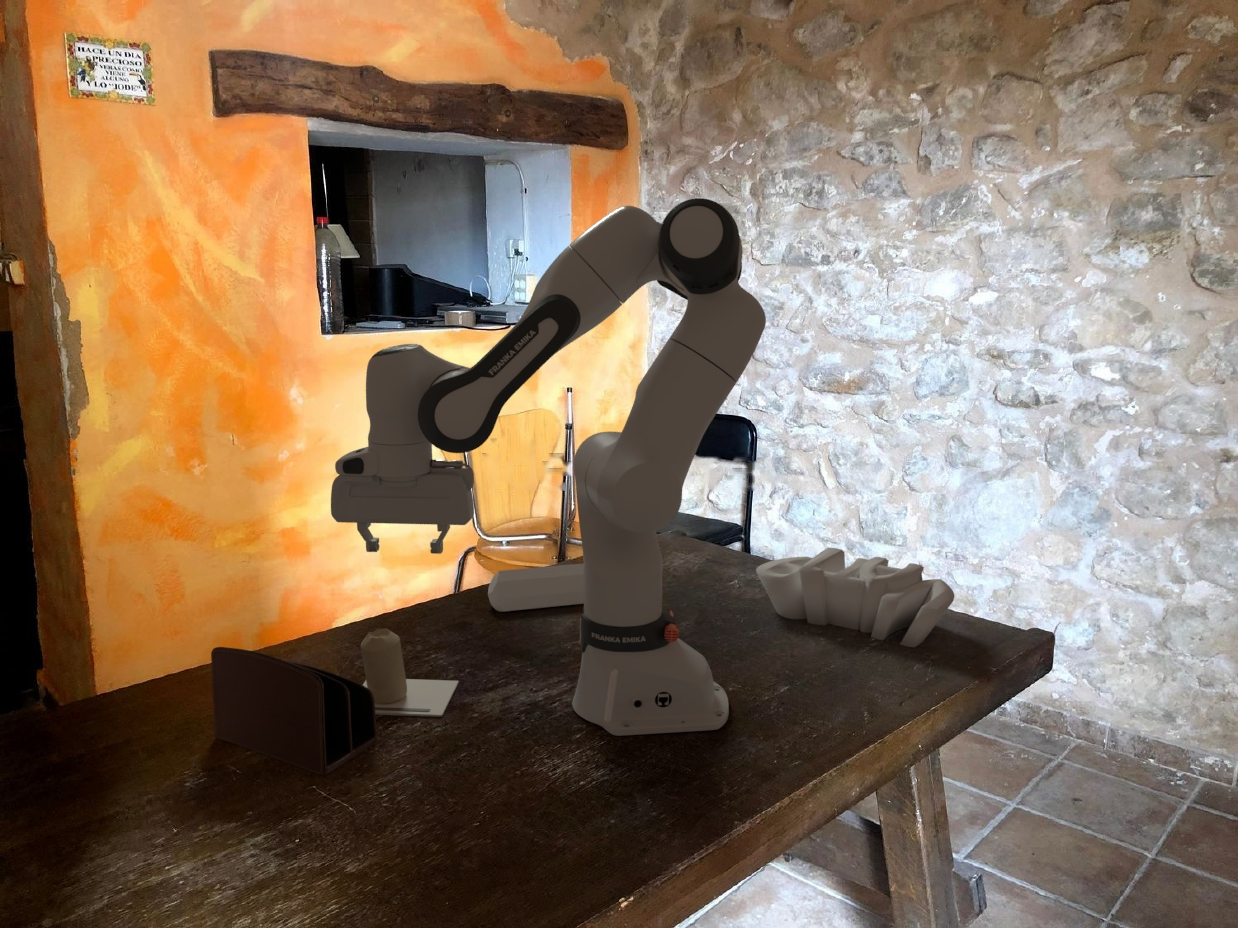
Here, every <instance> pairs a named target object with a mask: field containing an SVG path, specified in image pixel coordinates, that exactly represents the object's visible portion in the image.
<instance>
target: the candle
mask: <svg viewBox="0 0 1238 928" xmlns="http://www.w3.org/2000/svg"><path fill="white" fill-rule="evenodd" d="M360 651H361V657H362V662H363V669H364V675H365V681H366V682H367V688H368V689H369V690H371V692H372V693H373V696H374V700H375V703H378V704H387V703H392V702H395V701H398V700H400V699H401V698H403V697H404V696H405V695H406V693H407V684H406V679H407V678H406V671H405V665H404V659H403V651H402V644H401V639H400V636H399V635H398V634H396V633H395V632H393V631H391V630H389V629H388V628H377V629H375V630H374V631H371V632H368V633H367V634H366V636H365V637H364V639H363V640H362V641H361V643H360Z"/></svg>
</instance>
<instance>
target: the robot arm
mask: <svg viewBox="0 0 1238 928" xmlns="http://www.w3.org/2000/svg"><path fill="white" fill-rule="evenodd" d="M741 239H742V238H741V236H740V231H739V228H738V224H737V222H736V220H735V218H734V217H733V215H732V214H731V213H730V211H728V210H727V209H726V208H725V207H724V206H723V205H722V204H720V203H718V202H717V201H714V200H711V199H709V198H701V197H697V198H689V199H686V200H684V201H681V202H680V203H678V204H676V205H674V207H672V208H671V209H670V210H669V212H668V213H666V215H665V217H664V219H663V221H662V222H659V221H657V220H656V219H655V218H654V216H652V215H651V214H650V213H648V212H647V211H645V210H644V209H642V208H640V207H637V206H634V205H624V206H620V207H618V208H616V209H614V210H613V211H611V212H610V213H608V214H606V215H605V216H603V217H602V218H600V219H599V220H598V221H595V223H594V224H592V225H591V226H589V227H588V228H587V229H586V230H585V231H583V232H582V233H581V234H580V235H579V236H577V237H576V238H575V239H574V240H573V241H571V243H569V245H567V247H566V248H564V249H563V250H562V252H560V253H559V254H558V255H557V257H555V259H554V260H553V261H552V262H551V264H550V265H549V266H548V268H547V269H545V271H544V272H543V274H542V276H541V277H540V279H539V280H538V282H537V284H536V285H535V287H534V290H533V292H532V296H531V297H530V299H529V302H528V304H527V306H526V309H525V310H524V312H523V313H522V315H521V317H520V318H519V319H518V321H517V322H516V323H515V324H514V326H513V327H511V328H510V330H509V331H508V332H507V333H506V334H505V335H504V336H502V338H501V339H500V340H499V341H498V342H497V343H496V344H495V345H493V346H492V348H490V349H489V350H488V351H487V353H486V354H484V355H483V356H482V357H481V358H480V359H479V360H478V361H477V362H476V363H475V364H474V365H472V366H471V367H467V366H464V365H461V364H457V363H453V362H451V361H449V360H446V359H443V358H442V357H440V356H438V355H435V354H434V353H432V352H430V351H429V350H428V349H426V348H425V347H424V346H423V345H421V344H418V343H405V344H400V345H395V346H389V347H387V348H382V349H380V350H378V351H377V352H375V353H374V354H373V355H372V356H371V358H370V359H369V360H368V363H367V367H366V376H365V405H366V412H367V416H368V419H369V431H368V435H367V443H368V444H367V445H368V446H365V447H362V448H359V449H355V450H352V451H349V452H347V453H346V454H344V455H342V456H341V457H340V458H338V459H337V460H336V461H335V463H334V464H335V465H334V469H335V472H336V474H338V476H336V477H335V478H334V479H333V481H332V485H331V492H330V513H331V517H332V518H333V519H334V521H335V522H336V523H347V524H348V523H351V524H356V529H357V531H358V533H359V534H360V536H361V537H362V539H363V541H365V550H366V553H377V552H378V551H379V550H380V544H379V543H380V538H379V537H374V535H373V533H372V532H371V530H370V529H369V527H371V526H372V524H389V525H390V524H394V525H395V524H398V525H401V524H402V525H431V526H432V525H433V526H434V525H436V528H437V532H440V534H439V536H438V538H432V540H431V541H430V542H429V546H430V551H429V552H430V554H434V555H436V554H437V555H441V554H442V553H443V551H444V539H445V538H446V536H447V534H448V532H449V531H450V529H451V526H466V525H467V524H468V523H470V521H471V520H472V519H473V517H474V515H475V506H474V505H475V504H474V497H473V492H472V489H473V487H474V485H475V482H474V481H475V480H474V479H475V477H474V475H475V473H474V470H473V468H472V467H471V465H469V464H468V463H466V462H464V461H463V460H460V459H458V460H457V459H454V460H446V459H433V446H434V447H435V448H437V449H439V450H441V451H444V452H447V453H451V454H464V453H469V452H472V451H474V450H476V449H479V448H480V447H481V446H482V445H483V444H485V442H487V440H488V439H489V437H490V436H491V434H492V433H493V430H494V429H495V427H496V423H497V421H498V418H499V416H500V413H501V411H502V410H503V407H504V406H505V405H506V403H507V402H508V401H509V400H510V398H511V397H513V395H514V394H515V393H516V392H517V391H519V389H521V387H522V386H524V384H525V383H526V382H527V381H528V380H529V379H531V377H533V375H535V373H537V371H538V370H540V369H541V367H543V366H544V365H545V364H546V363H547V362H548V361H549V360H550V359H551V358H552V357H554V355H555V354H558V352H559V351H561V350H562V349H564V348H565V347H567V346H568V345H570V344H571V343H573V342H575V340H578V339H579V338H581V337H582V336H583V335H585V334H587V333H588V332H590V331H591V330H593V329H594V328H595V327H597V326H598V325H600V324H601V323H603V322H604V321H605V320H606V319H608V318H609V317H610V316H611V315H612V314H614V313H615V312H616V311H617V310H618V309H619V308H620V307H622V306H623V305H624V304H625V303H626V302H627V301H628V300H629V299H630V298H631V297H632V296H633V295H634V294H635V293H636V292H638V291H639V290H640V289H641V288H642V287H644V286H645V285H647V284H649V283H651V282H654V281H656V282H657V283H658V284H659V286H661V287H663V288H664V289H667V290H669V291H670V292H672V293H674V294H676V295H677V296H679V297H681V298H682V299H684V300H687V304H686V309H685V312H684V314H683V316H682V318H681V320H680V321H679V323H678V324H677V326H676V327H675V328H674V331H673V332H672V334H671V335H670V336H669V338H668V339H667V341H666V342H665V344H664V345H663V347H662V349H661V350H660V351H659V353H658V354H657V356H656V358H655V359H654V361H653V362H652V364H651V365H650V366H649V368H648V369H647V371H646V373H645V374H644V375H643V377H642V379H641V381H640V382H639V383H638V385H637V388H636V390H635V398H634V401H633V404H632V406H631V409H630V412H629V414H628V417H627V419H626V421H625V424H624V426H623V428H622V431H602V432H597V433H594V434H592V435H590V436H588V437H587V438H586V439H584V440H583V441H582V442H581V444H580V445H579V446H578V448H577V449H576V451H575V454H574V458H573V473H574V480H575V494H576V504H577V505H576V507H577V515H578V525H579V533H580V540H581V547H582V548H581V549H582V558H583V559H582V560H583V563H584V603H583V609H582V610H581V615H580V619H579V645H580V650H581V652H582V653H581V662H580V669H579V675H578V681H577V685H576V689H575V692H574V695H573V698H572V704H571V705H572V708H573V710H574V712H575V713H576V714H577V715H578V716H579V717H581V718H583V719H584V720H586V721H588V722H590V723H593V724H596V725H597V726H600V727H602V728H603V729H604V730H605V731H607V733H609V734H610V735H613V736H618V737H619V736H621V737H622V736H635V735H636V736H637V735H652V734H669V733H670V734H671V733H686V732H702V731H704V732H705V731H715V730H719V729H720V728H722V727H723V726H724V725H725V724H726V723H727V721H728V719H729V715H730V706H729V698H728V695H727V693H726V690H724V688H723V687H722V686H721V685H720V684H718V683H717V682H716V681H714V678H713V674H712V670H711V668H710V665H709V662H708V661H707V660H706V658H705V656H704V655H703V654H702V653H700V652H698V651H697V650H696V649H694V648H693V647H691V646H690V645H688V644H687V643H686V642H684V641H683V640H682V639H680V638H679V636H680V629H679V627H678V626H677V621H676V618H675V616H674V613H673V611H672V610H671V609H670V611H669V612H667V611H665V610H664V609H662V607H663V567H664V566H663V565H664V564H663V561H664V560H663V556H662V553H661V550H660V549H661V548H660V546H659V541H658V540H659V539H658V535H657V532H659V531H661V530H663V529H665V528H666V527H667V526H669V525H670V524H672V522H673V521H674V519H675V518H676V516H677V514H678V513H679V511H680V509H681V505H682V500H683V488H684V484H685V480H686V478H687V476H688V473H689V470H690V467H691V465H692V463H693V460H694V458H695V455H696V453H697V451H698V448H699V446H700V444H701V441H702V439H703V436H704V435H705V433H706V431H707V429H708V427H709V425H710V424H711V423H712V422H713V420H714V418H715V416H716V414H718V412H719V410H720V409H721V407H722V406H723V404H725V401H726V399H727V398H728V396H729V395H730V394H731V392H732V390H733V389H734V387H735V386H736V384H737V383H738V381H739V380H740V378H741V377H742V375H743V374H744V373H745V370H746V368H747V366H748V365H749V362H750V361H751V359H752V357H753V355H754V354H755V351H756V349H757V346H758V345H759V342H760V340H761V338H762V335H763V333H764V331H765V328H766V323H767V319H766V318H767V317H766V313H765V310H764V308H763V306H762V305H761V303H760V302H759V300H757V298H756V297H755V296H754V295H753V294H751V293H750V292H749V291H748V290H746V289H744V288H743V287H742V286H741V284H740V283H739V281H740V278H741V276H742V271H743V254H744V253H743V252H744V251H743V244H742V240H741Z"/></svg>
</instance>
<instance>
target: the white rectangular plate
mask: <svg viewBox="0 0 1238 928" xmlns="http://www.w3.org/2000/svg"><path fill="white" fill-rule="evenodd" d="M459 683H460V682H459V680H451V679H450V680H444V679H419V678H417V679H414V678H413V679H412V678H406V684H407V693H406V695H405V696H404V697H403V698H401V699H400V700H398V701H395V702H392V703H387V704H378V703H375V716H377V715H378V716H379V715H380V716H382V715H383V716H406V717H432V718H433V717H434V718H435V717H436V718H437V717H438V718H442V717H443V715H444V714H445V711H446V710H447V708H448V705H449V704H450V702H451V700H452V697H453V695H454V693H455V691H456V689H457V687H458V685H459ZM362 685H363V686H365V687H366V688H367V682H366V680H365V681H364V682H363V684H362Z"/></svg>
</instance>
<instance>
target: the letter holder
mask: <svg viewBox="0 0 1238 928" xmlns="http://www.w3.org/2000/svg"><path fill="white" fill-rule="evenodd" d="M210 658H211V659H210V661H211V679H212V680H211V685H212V687H211V688H212V702H213V703H212V704H213V722H214V723H213V725H214V737H215V739H216V740H219V741H222V742H225V743H227V744H231V745H234V746H237V747H239V748H243V749H245V750H249V751H251V752H253V753H258V754H260V755H263V756H266V757H268V758H270V759H273V760H276V761H279V762H282V763H285V764H288V765H290V766H294V767H296V768H299V769H302V770H305V771H308V772H310V773H313V774H316V775H318V776H321V777H326V775H328V774H330V773H332V772H334V771H335V770H337V769H338V768H340V767H341V766H343V765H344V764H346V763H348V762H349V761H351V760H352V759H354V758H356V756H359V755H361V754H362V753H364V752H365V751H367V750H368V749H369V748H371V747H373V746H374V745H375V744H377V743H378V731H377V720H376V719H377V718H376V716H377V715H375V700H374V696H373V693H372V692H371V690H369V689H368V688H366V687H365V686H363V684H361V683H359V682H357V681H355V680H352V679H349V678H347V677H345V676H342V675H339V674H337V673H333V672H330V671H327V670H324V669H322V668H318V667H314V666H310V665H306V664H303V663H297V662H292V661H286V660H283V659H281V658H278V657H275V656H272V655H268V654H265V653H262V652H259V651H254V650H250V649H249V650H248V649H243V648H233V647H226V646H217V647H214V648H212V650H211V653H210Z"/></svg>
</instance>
